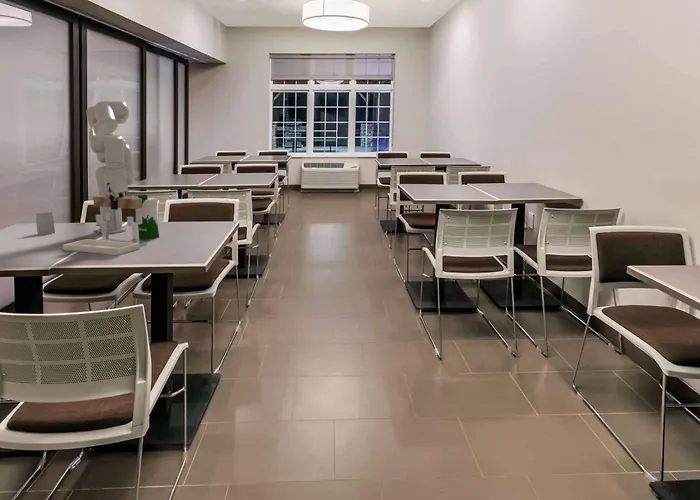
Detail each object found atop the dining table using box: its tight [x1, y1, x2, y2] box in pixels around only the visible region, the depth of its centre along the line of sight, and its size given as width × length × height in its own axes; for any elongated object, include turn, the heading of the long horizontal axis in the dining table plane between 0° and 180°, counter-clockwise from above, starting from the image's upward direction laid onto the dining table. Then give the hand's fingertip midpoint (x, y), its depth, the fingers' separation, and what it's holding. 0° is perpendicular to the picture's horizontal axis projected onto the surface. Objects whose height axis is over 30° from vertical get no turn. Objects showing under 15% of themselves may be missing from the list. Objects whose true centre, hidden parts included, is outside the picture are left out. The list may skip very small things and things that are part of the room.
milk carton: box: [135, 194, 160, 240], centre depth 277 cm, size 9×9×20 cm
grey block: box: [35, 211, 56, 236], centre depth 287 cm, size 4×7×10 cm, turn 132°
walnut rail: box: [92, 195, 143, 210], centre depth 259 cm, size 22×4×4 cm, turn 72°
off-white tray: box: [62, 238, 141, 256], centre depth 251 cm, size 28×14×2 cm, turn 72°
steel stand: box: [95, 213, 148, 248], centre depth 261 cm, size 22×7×13 cm, turn 72°
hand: (118, 208), depth 260 cm, fingers closed on walnut rail, 4 cm apart
